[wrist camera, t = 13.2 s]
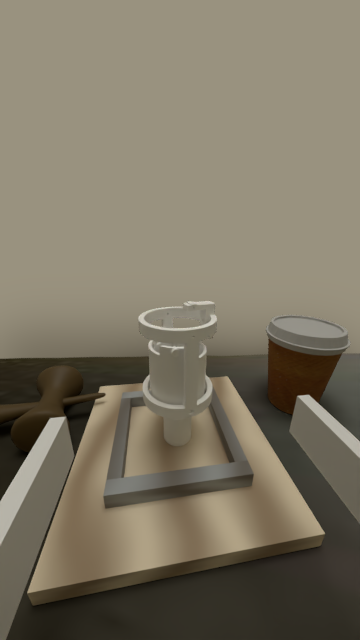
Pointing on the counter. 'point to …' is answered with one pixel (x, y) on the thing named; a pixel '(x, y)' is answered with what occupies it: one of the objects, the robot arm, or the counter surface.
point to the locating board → (168, 499)
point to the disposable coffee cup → (301, 357)
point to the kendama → (45, 404)
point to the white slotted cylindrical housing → (178, 367)
